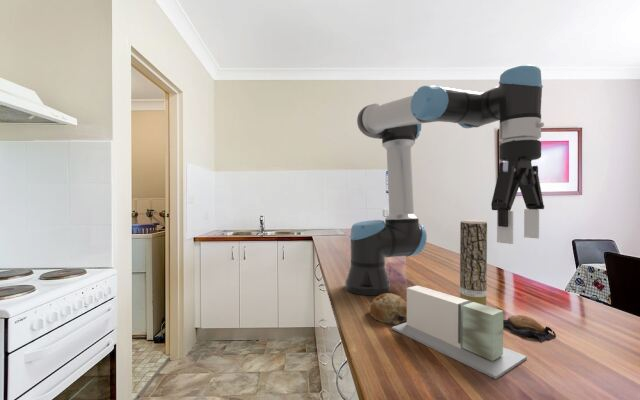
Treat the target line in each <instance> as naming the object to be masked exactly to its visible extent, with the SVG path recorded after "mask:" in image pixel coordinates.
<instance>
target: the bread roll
mask: <svg viewBox="0 0 640 400" xmlns="http://www.w3.org/2000/svg"><path fill="white" fill-rule="evenodd" d="M368 307H369V310H370V315H371V317H372V318H373V319H374V321H378V322H381V323H383V324H392V325H399V324H403V323H405V322H407V301H405V300H404V299H402V297H401V295H397V294H394V293H391V292H388V293H384V294H381V295H376V297H375V298H372V302H370V303H369V306H368Z"/></svg>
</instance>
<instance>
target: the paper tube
mask: <svg viewBox="0 0 640 400" xmlns="http://www.w3.org/2000/svg"><path fill="white" fill-rule="evenodd" d="M459 227H460V228H459V229H460V234H459V236H460V237H459V238H460V239H459V241H460V242H459V243H460V244H459V245H460V246H459V251H460V252H459V254H460V255H459V298H462V299H465V300H470V301H472V302H475V303H479V304H482V305H486V306H487V285H488V283H487V281H488V280H487V279H488V277H487V275H488V274H487V273H488V272H487V270H488V269H487V268H488V265H487V263H488V261H487V260H488V221H487V220H481V219H462V220H461V219H460V225H459Z"/></svg>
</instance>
